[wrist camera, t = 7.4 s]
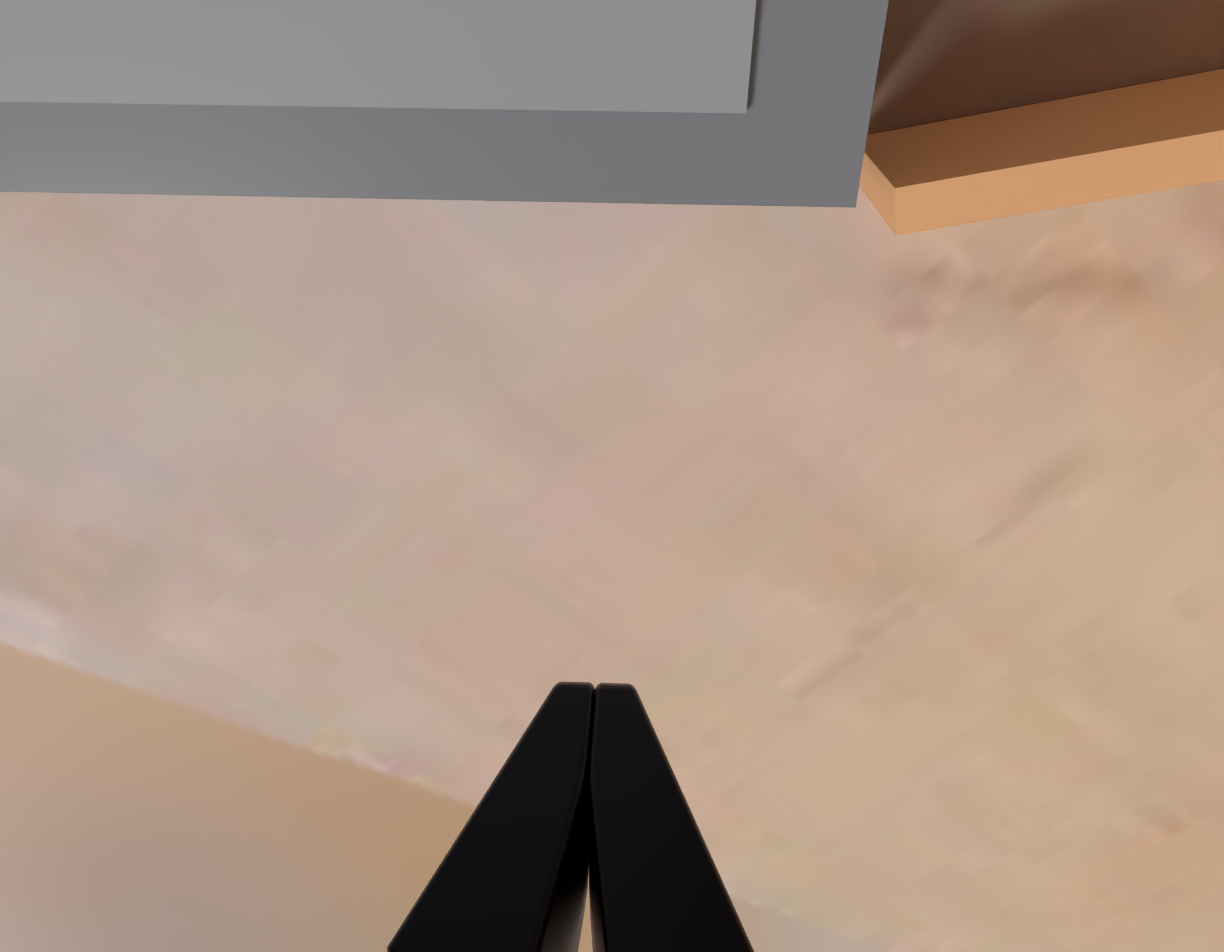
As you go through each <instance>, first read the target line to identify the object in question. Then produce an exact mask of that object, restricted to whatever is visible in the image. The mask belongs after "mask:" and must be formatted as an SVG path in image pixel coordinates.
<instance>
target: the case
mask: <svg viewBox="0 0 1224 952" xmlns="http://www.w3.org/2000/svg"><path fill="white" fill-rule="evenodd" d="M888 3H889V0H0V192H52V193H106V194H160V195H214V196H268V197H322V198H376V199H430V200H484V201H538V202H592V203H646V204H700V205H754V206H808V207H856V201H857V195H858V188H859V182H860V176H861V170H862V164H863V158H864V151H865V145H866V139H867V133H868V127H869V120H870V114H871V108H872V102H873V96H874V90H875V83H876V77H877V71H878V65H879V59H880V53H881V46H882V40H883V34H884V28H885V22H886V15H887V9H888Z"/></svg>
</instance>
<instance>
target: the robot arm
mask: <svg viewBox="0 0 1224 952" xmlns="http://www.w3.org/2000/svg"><path fill="white" fill-rule="evenodd" d="M588 876H589V895H590V918H591V932H592V946H593V952H754V950H753V948H752V946H751V944H750V941H749V939H748V937H747V935H746V932H745V930H744V928H743V926H742V923H741V921H740V919H739V917H738V915H737V912H736V910H735V908H734V906H733V904H732V901H731V899H730V897H729V895H728V892H727V890H726V888H725V886H724V884H723V881H722V879H721V877H720V875H719V872H718V870H717V868H716V866H715V864H714V861H713V859H712V857H711V855H710V852H709V850H708V848H707V846H706V844H705V841H704V839H703V837H702V835H701V832H700V830H699V828H698V826H697V824H696V821H695V819H694V817H693V815H692V813H691V810H690V808H689V806H688V804H687V801H686V799H685V797H684V795H683V793H682V790H681V788H680V786H679V784H678V781H677V779H676V777H675V775H674V773H673V770H672V768H671V766H670V764H669V761H668V759H667V757H666V755H665V753H664V750H663V748H662V746H661V744H660V742H659V739H658V737H657V735H656V733H655V730H654V728H653V726H652V724H651V722H650V719H649V717H648V715H647V713H646V710H645V708H644V706H643V704H642V702H641V699H640V697H639V695H638V693H637V691H636V689H635V688H634V686H632V685H631V684H618V683H600V684H598V685H597V687H596V689H595V688H594V686H593V685H592V684H591V683H588V682H559V683H557V684H556V685H555V686H554V687H553V689H552V690H551V692H550V693H549V695H548V696H547V698H546V700H545V701H544V703H543V704H542V706H541V707H540V709H539V710H538V712H537V714H536V715H535V717H534V718H533V720H532V721H531V723H530V725H529V726H528V728H527V729H526V731H525V732H524V734H523V735H522V737H521V739H520V740H519V742H518V743H517V745H516V746H515V748H514V750H513V751H512V753H511V754H510V756H509V757H508V759H507V761H506V762H505V764H504V765H503V767H502V768H501V770H500V771H499V773H498V775H497V776H496V778H495V779H494V781H493V782H492V784H491V786H490V787H489V789H488V790H487V792H486V793H485V795H484V797H483V798H482V800H481V801H480V803H479V804H478V806H477V807H476V809H475V811H474V812H473V814H472V815H471V817H470V819H469V820H468V822H467V823H466V825H465V826H464V828H463V830H462V831H461V832H460V834H459V836H458V837H457V839H456V840H455V842H454V844H453V845H452V847H451V848H450V850H449V851H448V853H447V855H446V856H445V858H444V859H443V861H442V863H441V864H440V865H439V867H438V868H437V870H436V872H435V873H434V875H433V876H432V878H431V879H430V881H429V883H428V884H427V886H426V887H425V889H424V891H423V892H422V894H421V895H420V897H419V898H418V900H417V901H416V903H415V905H414V906H413V908H412V909H411V911H410V912H409V914H408V915H407V917H406V919H405V920H404V922H403V923H402V925H401V927H400V928H399V930H398V931H397V933H396V934H395V936H394V938H393V939H392V940H391V942H390V944H389V945H388V947H387V952H578V947H579V941H580V935H581V929H582V923H583V917H584V911H585V903H586V897H587V889H588Z"/></svg>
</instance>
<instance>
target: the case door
mask: <svg viewBox="0 0 1224 952" xmlns="http://www.w3.org/2000/svg"><path fill="white" fill-rule="evenodd" d="M1219 180H1224V69H1220V70H1214V71H1209V72H1204V73H1198V74H1193V75H1187V76H1182V77H1177V78H1171V79H1166V80H1160V81H1155V82H1150V83H1144V84H1139V85H1134V86H1128V87H1123V88H1117V89H1112V90H1107V91H1101V92H1096V93H1091V94H1085V95H1080V96H1074V97H1069V98H1064V99H1058V100H1053V101H1048V102H1042V103H1037V104H1031V105H1026V106H1021V107H1015V108H1010V109H1004V110H999V111H994V112H988V113H983V114H978V115H972V116H967V117H961V118H956V119H951V120H945V121H940V122H935V123H929V124H924V125H918V126H913V127H908V128H902V129H897V130H891V131H886V132H881V133H875V134H870V135H867V139H866V145H865V151H864V158H863V164H862V170H861V176H860V182H859V186H860V187H861V188H862V190H863V191H864V193H865V194H866V195H867V197H868V198H869V200H870V201H871V202H872V204H873V205H874V206H875V208H876V209H877V211H878V212H879V213H880V215H881V216H882V217H883V219H884V220H885V222H886V223H887V224H888V226H889V227H890V228H891V230H892V231H893V233H894V234H895V235H902V234H907V233H913V232H919V231H925V230H931V229H937V228H943V227H949V226H955V225H960V224H966V223H972V222H978V221H984V220H990V219H996V218H1002V217H1007V216H1013V215H1019V214H1025V213H1031V212H1037V211H1043V210H1049V209H1055V208H1060V207H1066V206H1072V205H1078V204H1084V203H1090V202H1096V201H1102V200H1107V199H1113V198H1119V197H1125V196H1131V195H1137V194H1143V193H1149V192H1154V191H1160V190H1166V189H1172V188H1178V187H1184V186H1190V185H1196V184H1202V183H1207V182H1213V181H1219Z"/></svg>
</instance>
